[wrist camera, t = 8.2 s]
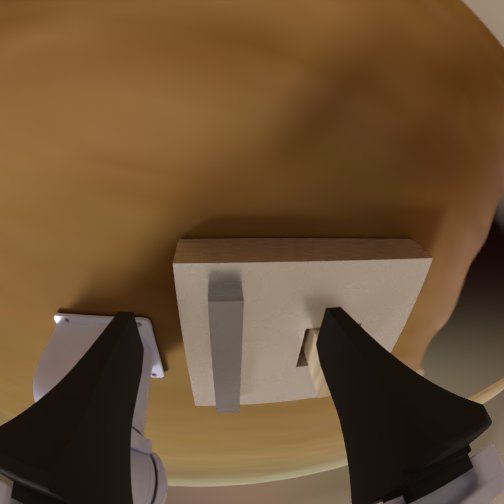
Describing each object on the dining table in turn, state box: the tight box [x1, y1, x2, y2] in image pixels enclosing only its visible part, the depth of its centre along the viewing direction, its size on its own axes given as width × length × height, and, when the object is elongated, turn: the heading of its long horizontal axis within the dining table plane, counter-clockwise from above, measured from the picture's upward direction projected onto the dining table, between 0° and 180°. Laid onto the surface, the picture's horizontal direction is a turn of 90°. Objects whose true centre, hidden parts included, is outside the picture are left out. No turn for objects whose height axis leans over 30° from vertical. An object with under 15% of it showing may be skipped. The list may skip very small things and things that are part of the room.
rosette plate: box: [173, 238, 433, 413], centre depth 22 cm, size 18×16×5 cm
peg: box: [302, 328, 331, 398], centre depth 21 cm, size 3×3×7 cm
